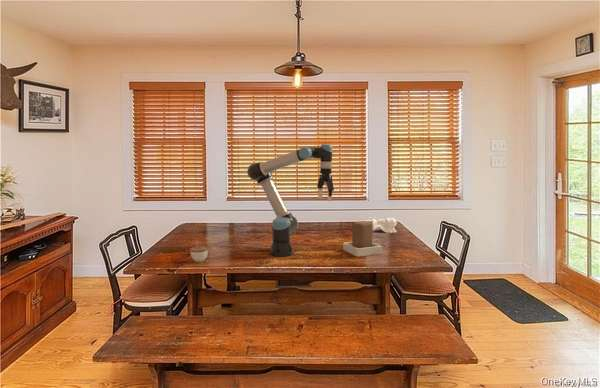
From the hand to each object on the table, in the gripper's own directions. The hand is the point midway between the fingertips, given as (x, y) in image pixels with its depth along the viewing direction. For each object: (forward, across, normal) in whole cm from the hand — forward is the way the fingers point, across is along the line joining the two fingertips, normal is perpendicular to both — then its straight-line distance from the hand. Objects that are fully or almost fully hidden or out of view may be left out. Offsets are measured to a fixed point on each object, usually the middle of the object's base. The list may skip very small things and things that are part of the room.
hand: (324, 199), depth 268 cm
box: (+35, -12, -24) cm, 44 cm away
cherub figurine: (+35, +38, -76) cm, 92 cm away
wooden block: (+35, -12, -24) cm, 44 cm away
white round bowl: (+38, +12, +81) cm, 90 cm away
